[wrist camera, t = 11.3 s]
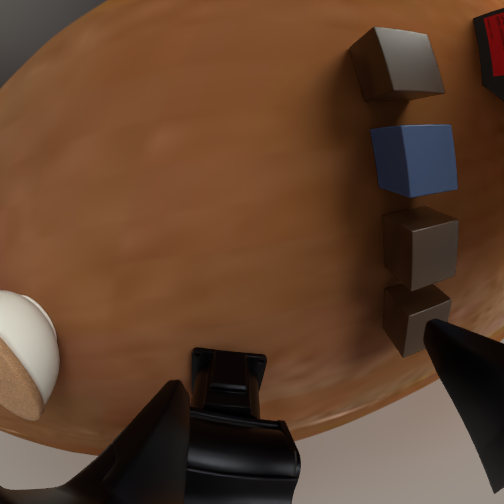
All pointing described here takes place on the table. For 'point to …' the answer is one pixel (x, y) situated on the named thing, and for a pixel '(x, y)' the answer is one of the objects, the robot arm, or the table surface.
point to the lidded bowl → (26, 355)
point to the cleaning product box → (491, 50)
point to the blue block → (415, 159)
